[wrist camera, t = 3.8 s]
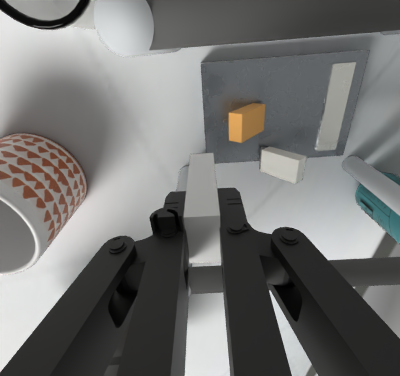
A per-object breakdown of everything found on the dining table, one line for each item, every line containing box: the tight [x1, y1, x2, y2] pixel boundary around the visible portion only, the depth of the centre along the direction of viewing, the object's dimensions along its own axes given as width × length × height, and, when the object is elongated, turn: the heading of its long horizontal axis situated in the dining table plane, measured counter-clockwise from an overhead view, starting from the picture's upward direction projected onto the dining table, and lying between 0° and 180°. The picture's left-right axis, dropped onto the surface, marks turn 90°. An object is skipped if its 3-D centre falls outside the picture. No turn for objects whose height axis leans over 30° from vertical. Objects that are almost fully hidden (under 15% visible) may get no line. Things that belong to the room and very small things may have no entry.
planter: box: [0, 133, 87, 275], centre depth 30 cm, size 14×14×13 cm
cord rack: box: [93, 0, 400, 297], centre depth 22 cm, size 26×19×20 cm
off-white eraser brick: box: [259, 146, 307, 184], centre depth 29 cm, size 2×3×6 cm
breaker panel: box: [201, 50, 370, 164], centre depth 29 cm, size 18×12×3 cm, turn 94°
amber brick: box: [229, 102, 265, 143], centre depth 27 cm, size 2×3×6 cm
